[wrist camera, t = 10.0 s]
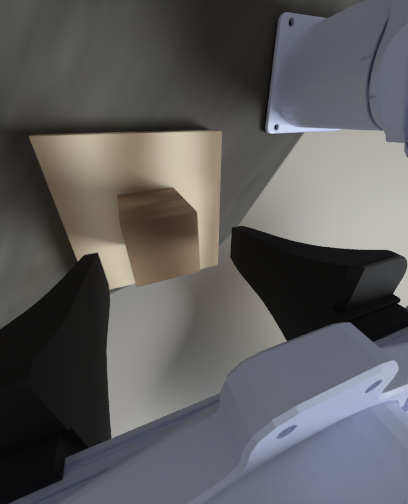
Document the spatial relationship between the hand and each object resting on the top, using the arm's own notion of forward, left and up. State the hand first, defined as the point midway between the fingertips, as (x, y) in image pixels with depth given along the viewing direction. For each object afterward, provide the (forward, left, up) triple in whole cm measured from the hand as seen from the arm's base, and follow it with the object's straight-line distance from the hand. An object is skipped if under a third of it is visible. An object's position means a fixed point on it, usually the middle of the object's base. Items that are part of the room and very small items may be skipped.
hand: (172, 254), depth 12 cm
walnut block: (0, +1, -8) cm, 8 cm away
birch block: (0, +1, -11) cm, 11 cm away
